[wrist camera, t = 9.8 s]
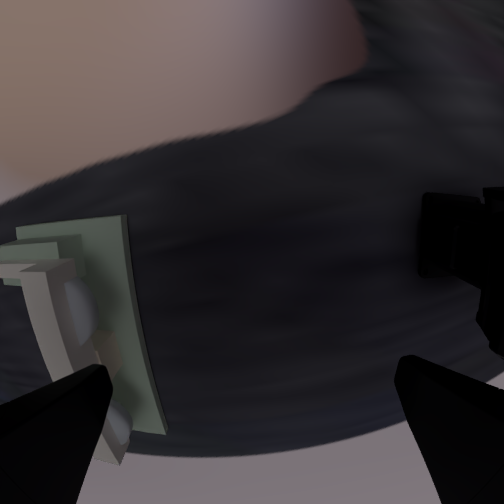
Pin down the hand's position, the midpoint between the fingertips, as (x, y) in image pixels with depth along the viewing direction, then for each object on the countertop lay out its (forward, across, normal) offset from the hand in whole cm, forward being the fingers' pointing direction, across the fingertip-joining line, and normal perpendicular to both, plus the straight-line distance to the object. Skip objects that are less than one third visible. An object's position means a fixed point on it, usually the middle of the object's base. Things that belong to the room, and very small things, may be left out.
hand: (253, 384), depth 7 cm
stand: (+12, +14, +6) cm, 19 cm away
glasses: (+8, +14, +6) cm, 17 cm away
